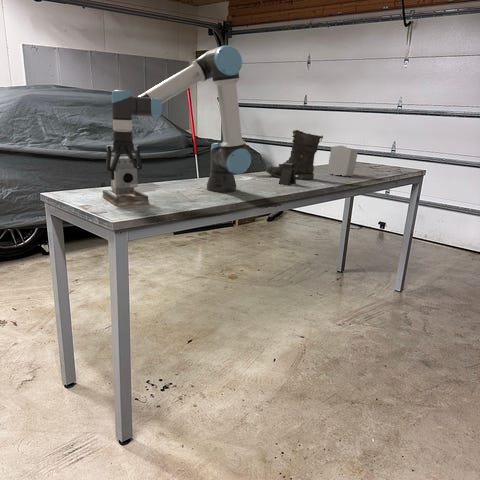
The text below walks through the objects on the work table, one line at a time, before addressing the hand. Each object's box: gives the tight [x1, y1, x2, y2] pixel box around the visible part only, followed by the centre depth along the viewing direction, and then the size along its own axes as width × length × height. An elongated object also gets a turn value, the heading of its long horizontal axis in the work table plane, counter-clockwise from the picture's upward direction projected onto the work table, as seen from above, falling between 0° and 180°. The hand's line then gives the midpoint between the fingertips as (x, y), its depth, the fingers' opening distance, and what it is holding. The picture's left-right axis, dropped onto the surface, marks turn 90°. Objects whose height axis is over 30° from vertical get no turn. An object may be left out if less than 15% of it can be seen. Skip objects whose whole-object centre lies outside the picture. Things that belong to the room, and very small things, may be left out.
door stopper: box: [278, 161, 297, 186], centre depth 232 cm, size 9×6×12 cm, turn 140°
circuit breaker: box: [110, 155, 139, 195], centre depth 171 cm, size 8×14×15 cm, turn 32°
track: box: [101, 188, 150, 207], centre depth 174 cm, size 14×18×3 cm
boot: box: [265, 129, 324, 180], centre depth 254 cm, size 12×33×29 cm, turn 79°
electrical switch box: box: [326, 145, 358, 177], centre depth 278 cm, size 15×15×20 cm
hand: (124, 186), depth 173 cm, fingers closed on circuit breaker, 7 cm apart
